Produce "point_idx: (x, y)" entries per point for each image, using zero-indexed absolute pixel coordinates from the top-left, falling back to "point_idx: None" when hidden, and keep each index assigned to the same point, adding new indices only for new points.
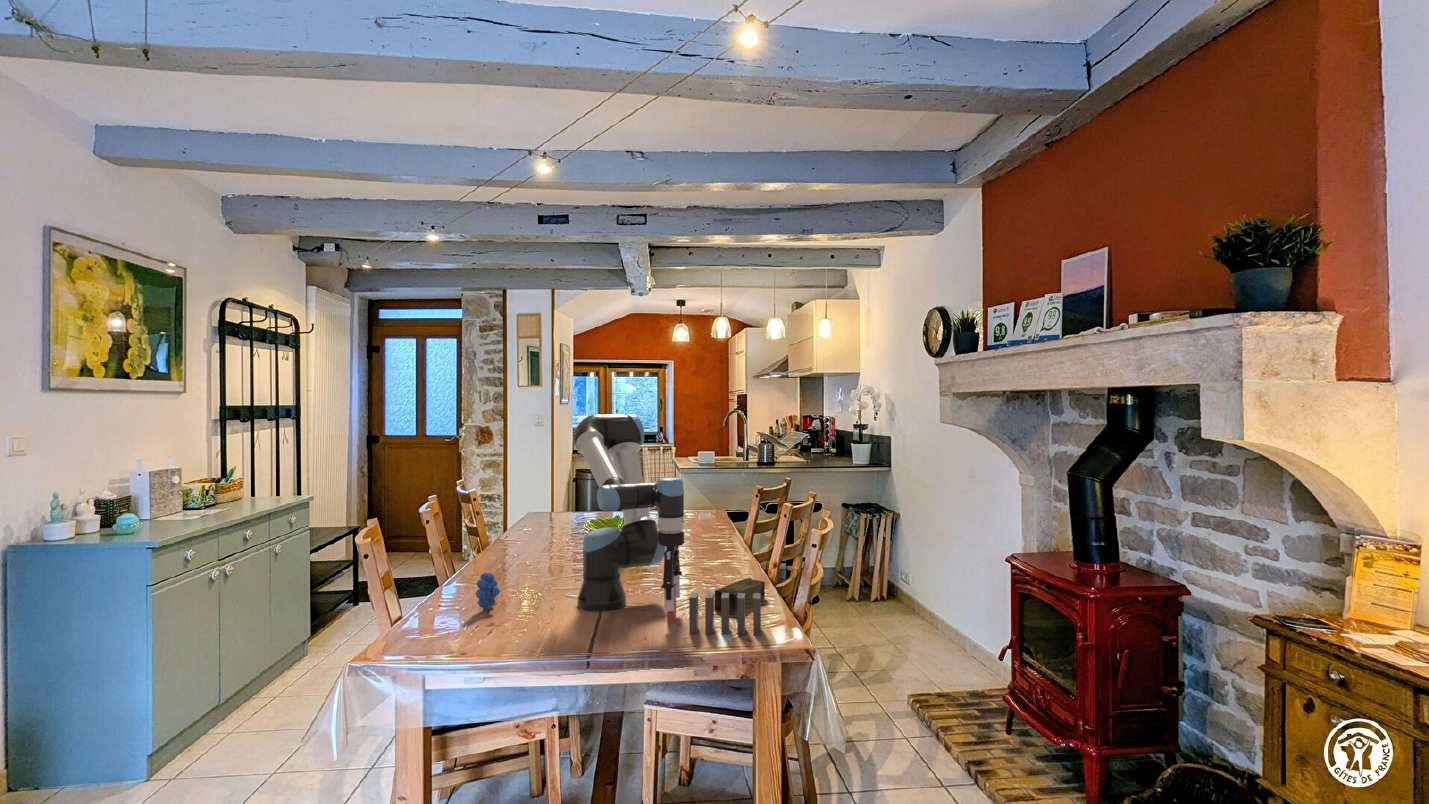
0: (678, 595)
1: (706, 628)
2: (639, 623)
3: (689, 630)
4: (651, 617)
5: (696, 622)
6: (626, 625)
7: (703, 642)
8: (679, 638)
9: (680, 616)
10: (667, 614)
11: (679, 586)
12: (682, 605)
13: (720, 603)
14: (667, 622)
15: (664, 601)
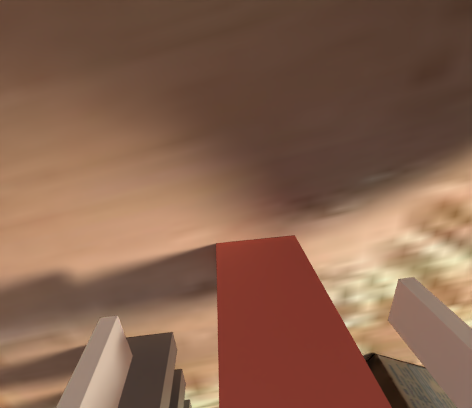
0: (398, 328)
1: None
2: (178, 110)
3: None
4: (288, 153)
5: None
6: (120, 28)
7: (38, 387)
8: (39, 324)
9: None
10: (217, 269)
11: (451, 390)
12: (455, 249)
13: None
14: (216, 244)
15: (68, 385)
